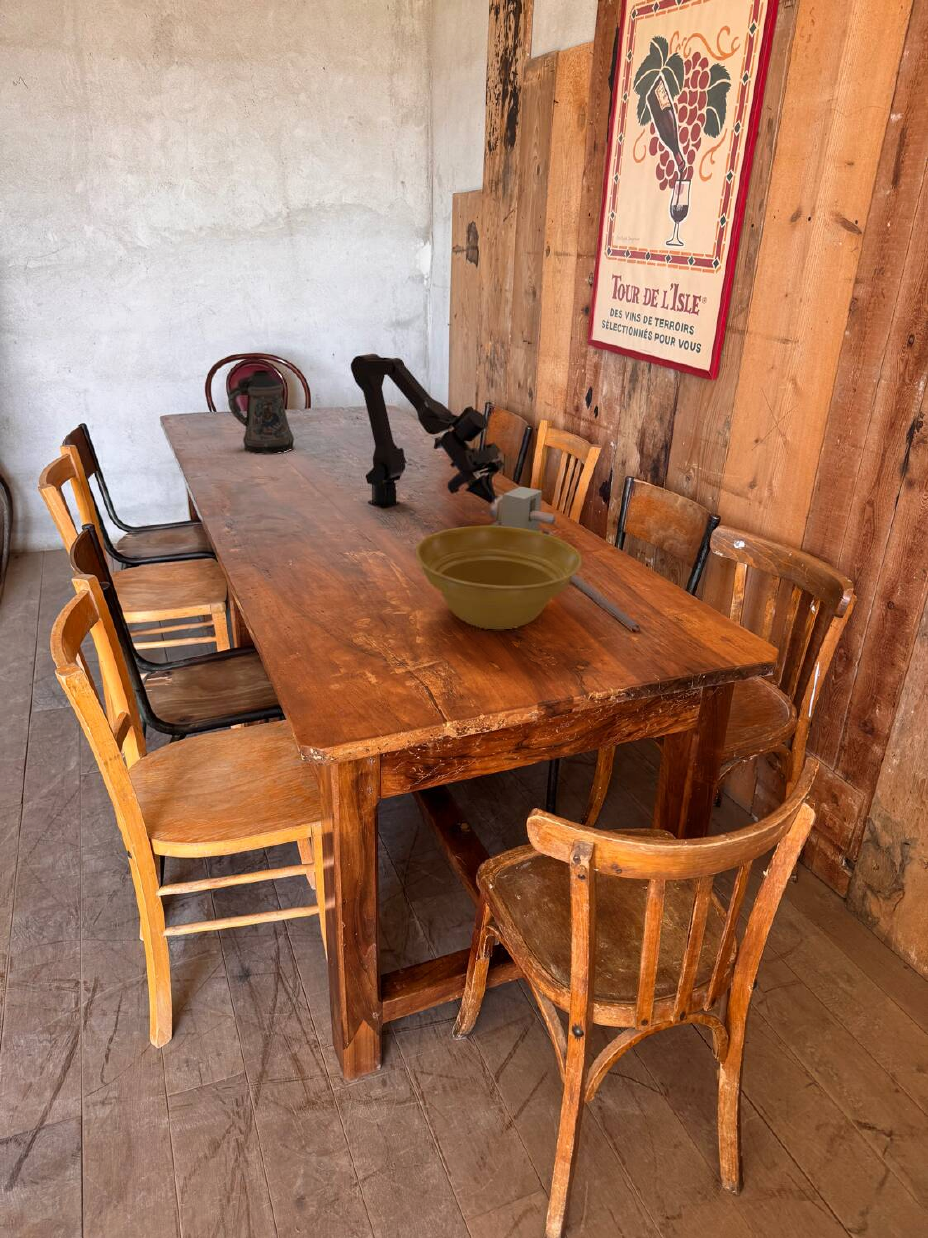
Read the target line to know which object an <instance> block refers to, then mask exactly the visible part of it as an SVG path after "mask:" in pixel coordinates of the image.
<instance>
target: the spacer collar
mask: <svg viewBox="0 0 928 1238" xmlns="http://www.w3.org/2000/svg"><path fill="white" fill-rule="evenodd" d="M502 504H503V501H501V502H499V511H498V519H497V521H498V523H501V521H502Z"/></svg>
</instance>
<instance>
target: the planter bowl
mask: <svg viewBox="0 0 928 1238" xmlns="http://www.w3.org/2000/svg"><path fill="white" fill-rule="evenodd" d="M581 555H582V554H581V553H580V552H579V550H577V549H576V548H575V547H574V546H573V545H571V544H569V543H568V542H567V541H564V540H562V539H560V538H558V537H555V536H554V535H553V536H550V535H547V534H544V533H540V532H536V531H532V530H527V529H521V528H514V527H503V526H489V525H474V526H473V525H472V526H463V527H456V528H450V529H445V530H441V531H438V532H436V533H433V534H431V535H429V536H427V537H424V539H422V540H420V541H419V543H418V544H417V545H416V546H415V548H414V558H415V559H416V562H417V563H418V564H419V565H420V566H421V568H422V570H423V572H424V574H425V577H426V579H427V580H428V582H429V583H430V584H431V585H432V586H433V587H434V588H435V589H437V590H438V591H440V592H441V595H442V597H443V598H444V601H445V602H446V605H447V606H448V607H449V609H450V610H451V612H452V613H453V614H454V615H455V617H457V618H458V619H460V620H461V621H463V622H464V621H465V622H464V623H466V624H467V625H470V624H471V625H470V626H472V625H474V626H476V627H475V628H478V627H479V628H478V629H482V628H484V629H483V630H487V629H510V628H515V627H518V626H521V627H523V626H525V625H527V624H529V623H531V622H532V621H534V620H535V619H537V617H538V616H539V615H540V614H541V612H542V611H543V610H545V608H546V606H547V605H548V603H549V602H550V600H551V599H552V598H554V597H555V596H557V595H559V594H560V593H562V592H563V591H564V590H565V589H566V588H567V586H568V585H569V584H570V583H571V582H570V580H571V578H572V576H573V575H575V574H576V575H577V574H578V572H579V571H580V570H581V568H582V566H583V557H582V556H581ZM522 625H523V626H522ZM474 626H473V627H474ZM518 628H519V627H518ZM515 629H516V628H515ZM510 630H511V629H510Z"/></svg>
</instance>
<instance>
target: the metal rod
mask: <svg viewBox="0 0 928 1238" xmlns="http://www.w3.org/2000/svg"><path fill="white" fill-rule="evenodd" d="M570 581H571V582H572V583H571V582H570V583H571V584H573V583H574V584H575V585H576V586H578V587H579V588H580V589H581V590H582V591H584V592H585V593H586V594H587V595H588V596H590V597H591V598H592V599H593V600H595V601H597V602H598V603H599V604H600V605H602V606H603V607H604V608H605V609H606V610H608V611H609V612H610V613H611V614H612V615H614V616H615V617H616V618H617V619H619V620H620V621H621V622H623V623H624V624H626V625H627V626H628V627H629V628H630V629H633V627H634V626H636V627H637V628H638V629H641V626H640V625H639V623H637V622H636V621H635V620H633V619H632V618H631V617H629V616H628V614H626V613H625V612H624V611H622V610H620V608H619V607H617V606H616V605H614V604H613V603H612V602H611V601H610V600H608V599H607V598H606V597H604V596H603V595H602V594H601V593H600V592H598V591H597V590H596V589H594V587H592V586H591V585H590V584H588V583H587V582H586V581H584V580H583V579H582V578H580V576H579V575H577V573H576V574H575V575H573V576H572V578H571V580H570ZM574 584H573V585H574ZM575 585H574V586H575ZM576 586H575V587H576ZM578 587H577V588H578ZM579 588H578V589H579ZM580 589H579V590H580ZM581 590H580V591H581ZM582 591H581V592H582ZM584 592H583V593H584ZM585 593H584V594H585ZM586 594H585V595H586ZM587 595H586V596H587ZM588 596H587V597H588ZM590 597H589V598H590ZM591 598H590V599H591ZM592 599H591V600H592ZM593 600H592V601H593ZM595 601H594V602H595ZM612 615H611V616H612Z"/></svg>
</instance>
